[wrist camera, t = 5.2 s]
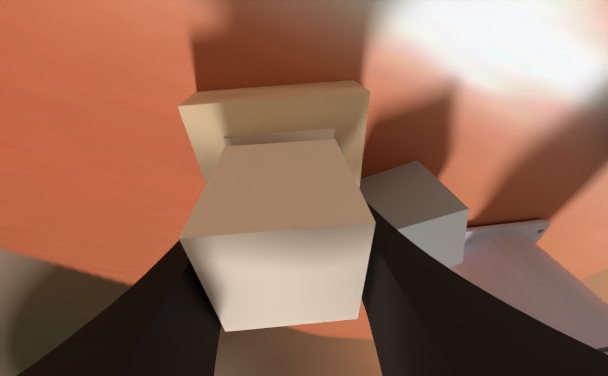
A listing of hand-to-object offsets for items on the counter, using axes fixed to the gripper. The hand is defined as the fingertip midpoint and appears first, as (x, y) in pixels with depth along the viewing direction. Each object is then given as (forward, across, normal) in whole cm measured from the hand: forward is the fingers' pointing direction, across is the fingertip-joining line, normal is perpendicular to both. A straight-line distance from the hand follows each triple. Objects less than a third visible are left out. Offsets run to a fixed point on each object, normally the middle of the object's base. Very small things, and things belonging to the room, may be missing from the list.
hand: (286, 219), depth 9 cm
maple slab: (+6, 0, 0) cm, 6 cm away
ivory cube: (+2, 0, 0) cm, 2 cm away
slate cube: (+6, -7, +4) cm, 10 cm away
